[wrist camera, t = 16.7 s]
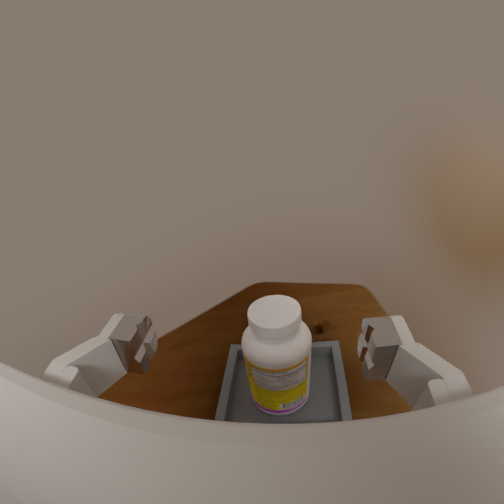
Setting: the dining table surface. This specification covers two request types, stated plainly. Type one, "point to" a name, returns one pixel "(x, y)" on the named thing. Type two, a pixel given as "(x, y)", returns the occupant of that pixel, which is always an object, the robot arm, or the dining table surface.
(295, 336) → the supplement bottle
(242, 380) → the tray
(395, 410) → the dining table surface
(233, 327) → the dining table surface
